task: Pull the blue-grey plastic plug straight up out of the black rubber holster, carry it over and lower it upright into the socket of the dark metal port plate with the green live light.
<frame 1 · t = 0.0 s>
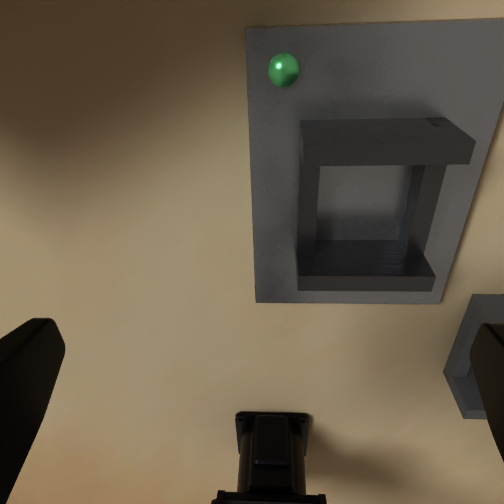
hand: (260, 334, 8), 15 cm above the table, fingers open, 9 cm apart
port: (358, 185, 22), on the table
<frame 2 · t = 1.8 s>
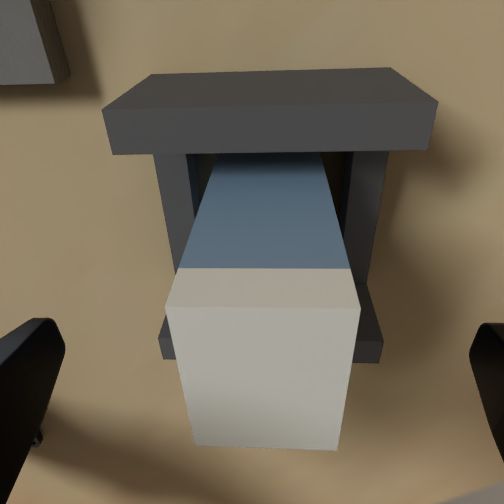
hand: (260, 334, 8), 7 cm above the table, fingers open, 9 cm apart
plug: (269, 194, 14), resting in holster
holster: (269, 194, 14), on the table
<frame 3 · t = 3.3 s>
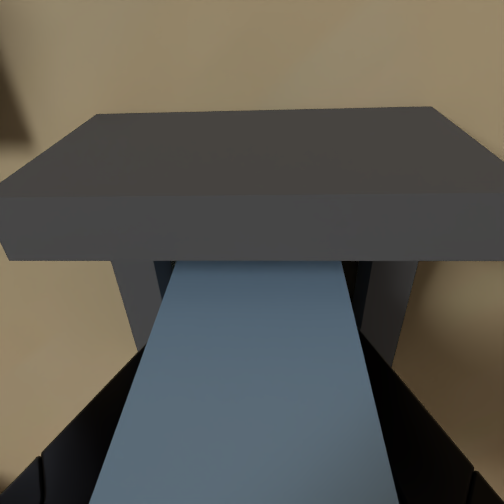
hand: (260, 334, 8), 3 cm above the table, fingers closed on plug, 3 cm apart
plug: (263, 263, 10), resting in holster, touching gripper
holster: (263, 264, 10), on the table
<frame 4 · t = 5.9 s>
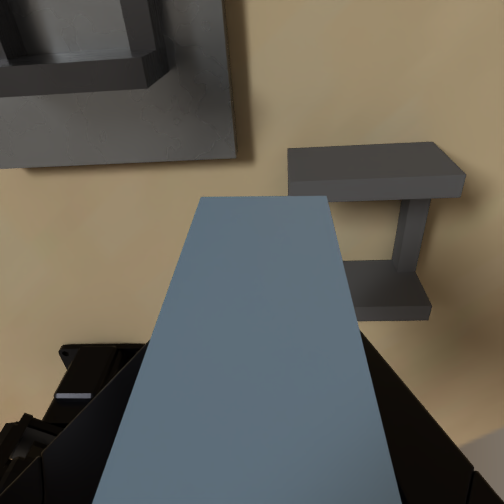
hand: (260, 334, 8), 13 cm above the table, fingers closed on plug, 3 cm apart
plug: (264, 264, 10), point 10 cm above the table, touching gripper
holster: (352, 216, 21), on the table
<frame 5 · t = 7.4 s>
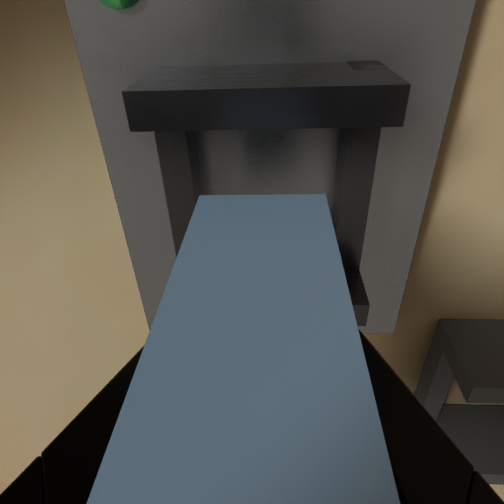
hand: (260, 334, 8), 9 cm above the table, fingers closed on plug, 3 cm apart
plug: (263, 262, 10), point 6 cm above the table, touching gripper
holster: (487, 372, 21), on the table
port: (267, 170, 15), on the table
when the fingers open (4 cm above the table, at t = 8.8 s): plug stays where it is, resting on port.
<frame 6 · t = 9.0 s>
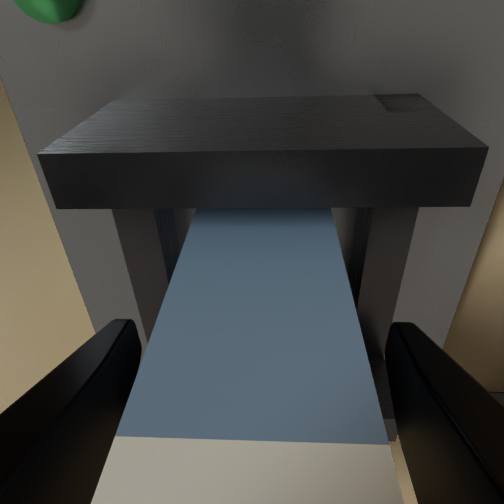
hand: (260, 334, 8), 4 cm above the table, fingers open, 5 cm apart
plug: (265, 243, 11), point 1 cm above the table, touching port
port: (265, 225, 12), on the table
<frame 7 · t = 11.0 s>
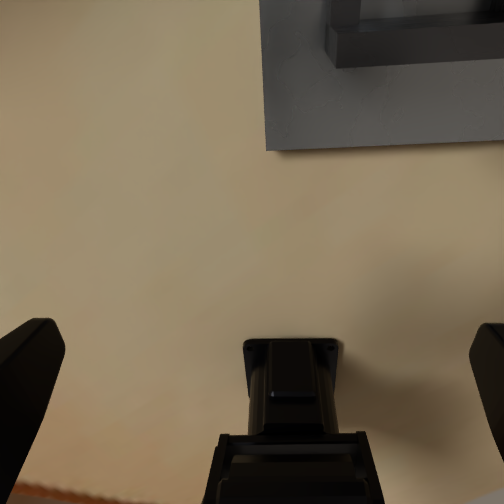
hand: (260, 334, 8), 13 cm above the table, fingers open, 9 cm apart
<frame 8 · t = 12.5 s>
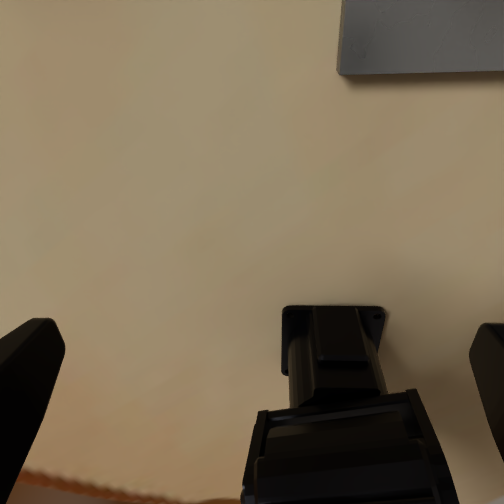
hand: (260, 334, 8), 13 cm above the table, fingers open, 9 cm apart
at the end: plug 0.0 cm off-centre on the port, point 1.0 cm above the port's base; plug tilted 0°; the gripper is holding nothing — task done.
